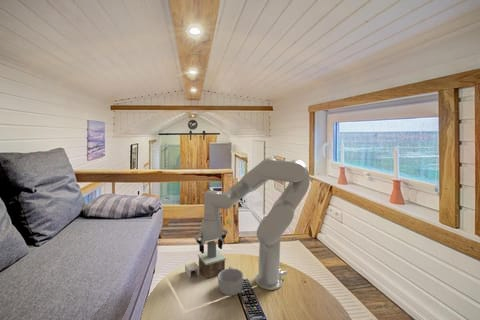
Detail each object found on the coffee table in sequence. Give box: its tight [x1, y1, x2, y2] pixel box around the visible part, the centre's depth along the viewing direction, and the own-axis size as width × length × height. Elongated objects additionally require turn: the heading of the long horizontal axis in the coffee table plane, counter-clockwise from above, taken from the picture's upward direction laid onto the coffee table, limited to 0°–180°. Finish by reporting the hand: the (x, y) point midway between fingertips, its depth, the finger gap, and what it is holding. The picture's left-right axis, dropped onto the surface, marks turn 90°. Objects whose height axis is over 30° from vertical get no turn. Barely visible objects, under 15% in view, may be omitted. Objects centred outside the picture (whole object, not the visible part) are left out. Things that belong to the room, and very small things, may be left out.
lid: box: [197, 240, 227, 265], centre depth 121 cm, size 10×10×8 cm
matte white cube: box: [184, 261, 200, 279], centre depth 120 cm, size 5×6×5 cm
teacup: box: [217, 266, 244, 297], centre depth 109 cm, size 14×11×8 cm
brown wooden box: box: [198, 257, 226, 280], centre depth 122 cm, size 10×10×8 cm
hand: (211, 250), depth 121 cm, fingers open, 9 cm apart
